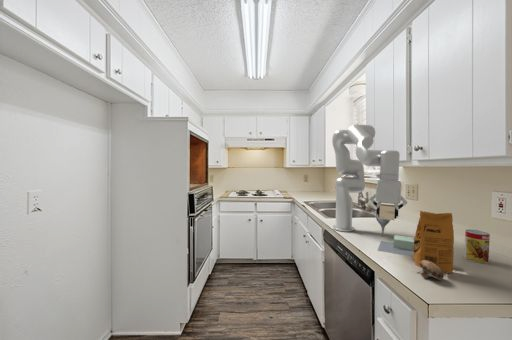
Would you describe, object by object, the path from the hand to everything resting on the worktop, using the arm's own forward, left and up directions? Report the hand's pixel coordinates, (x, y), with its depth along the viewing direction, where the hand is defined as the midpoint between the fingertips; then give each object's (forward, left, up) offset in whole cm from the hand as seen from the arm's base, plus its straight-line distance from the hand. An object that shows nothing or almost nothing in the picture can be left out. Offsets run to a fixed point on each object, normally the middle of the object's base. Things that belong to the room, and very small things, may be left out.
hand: (387, 216), depth 119 cm
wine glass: (-23, -3, -16) cm, 29 cm away
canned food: (-10, +34, -16) cm, 39 cm away
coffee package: (+11, +17, -16) cm, 26 cm away
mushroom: (+22, +16, -16) cm, 31 cm away
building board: (-5, +4, -16) cm, 17 cm away
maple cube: (0, 0, -1) cm, 1 cm away
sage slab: (-9, +7, -15) cm, 19 cm away
